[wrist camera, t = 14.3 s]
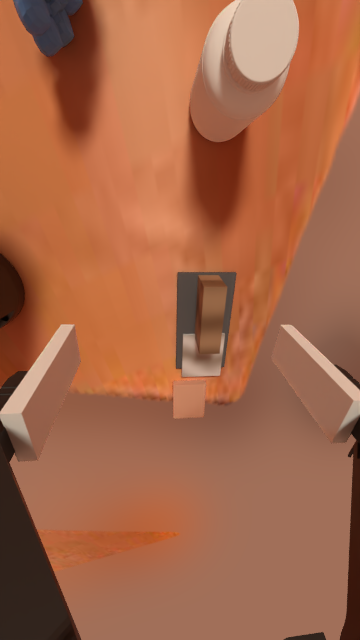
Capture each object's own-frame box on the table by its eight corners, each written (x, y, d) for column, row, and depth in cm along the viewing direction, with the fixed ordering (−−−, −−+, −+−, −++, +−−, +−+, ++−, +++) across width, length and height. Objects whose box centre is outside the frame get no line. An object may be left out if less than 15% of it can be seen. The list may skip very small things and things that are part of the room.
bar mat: (176, 366, 50) (176, 368, 49) (177, 272, 41) (177, 273, 40) (223, 365, 51) (224, 366, 50) (235, 272, 42) (236, 273, 41)
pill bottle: (245, 53, 29) (319, -67, 16) (252, 134, 33) (316, 92, 19) (181, 73, 29) (200, -28, 16) (195, 150, 33) (220, 121, 20)
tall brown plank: (184, 275, 40) (188, 287, 35) (231, 275, 41) (242, 286, 36) (181, 375, 50) (184, 396, 45) (219, 373, 51) (226, 394, 46)
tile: (172, 379, 52) (173, 412, 57) (173, 385, 50) (173, 418, 55) (204, 378, 53) (202, 410, 57) (206, 383, 51) (203, 416, 56)
